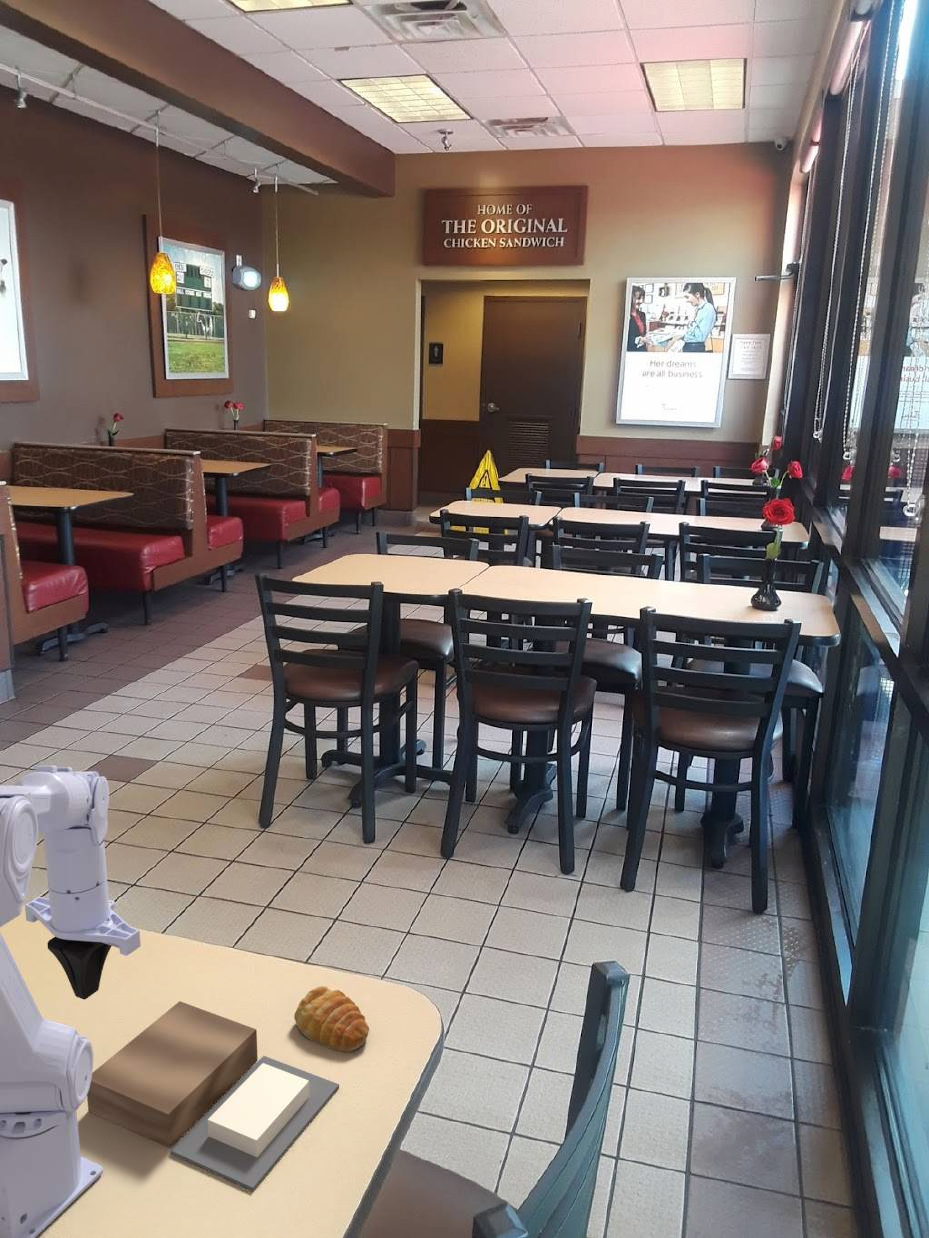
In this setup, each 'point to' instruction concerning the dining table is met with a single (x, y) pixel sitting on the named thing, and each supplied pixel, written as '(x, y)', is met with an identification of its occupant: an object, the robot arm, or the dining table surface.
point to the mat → (254, 1169)
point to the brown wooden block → (172, 1073)
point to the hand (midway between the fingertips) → (87, 992)
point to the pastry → (331, 1020)
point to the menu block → (258, 1109)
